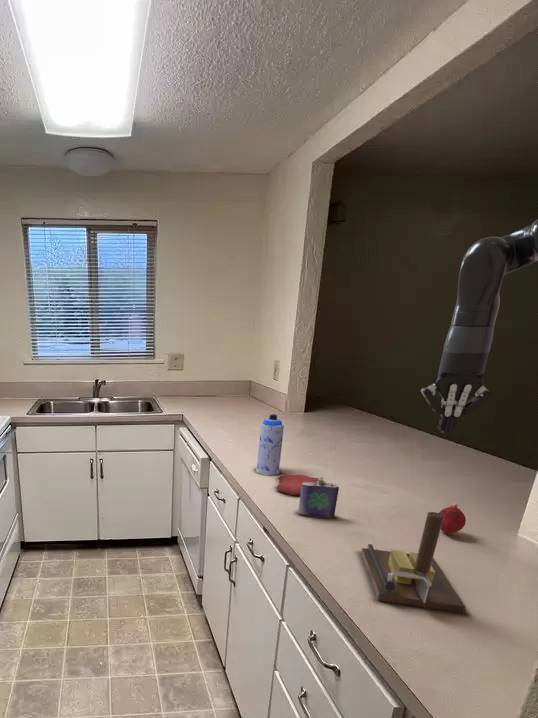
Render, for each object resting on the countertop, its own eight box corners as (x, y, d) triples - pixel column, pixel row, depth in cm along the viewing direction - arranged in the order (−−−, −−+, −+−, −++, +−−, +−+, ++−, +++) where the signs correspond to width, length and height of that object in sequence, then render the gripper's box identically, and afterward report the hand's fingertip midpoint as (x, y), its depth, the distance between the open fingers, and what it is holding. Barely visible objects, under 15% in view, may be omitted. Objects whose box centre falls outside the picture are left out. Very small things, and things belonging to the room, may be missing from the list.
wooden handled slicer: (422, 586, 83) (441, 512, 78) (431, 604, 78) (452, 526, 73) (378, 580, 86) (394, 508, 80) (385, 597, 80) (402, 521, 75)
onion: (463, 541, 103) (472, 510, 101) (435, 536, 106) (443, 506, 103) (458, 530, 108) (466, 501, 105) (431, 526, 111) (438, 497, 108)
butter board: (431, 562, 95) (436, 542, 93) (463, 613, 79) (470, 590, 77) (360, 553, 99) (364, 534, 97) (377, 600, 83) (382, 578, 81)
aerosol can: (280, 475, 147) (287, 417, 140) (257, 474, 148) (262, 417, 141) (277, 467, 154) (283, 412, 147) (255, 466, 155) (260, 412, 148)
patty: (279, 475, 147) (280, 470, 146) (323, 480, 142) (324, 475, 141) (274, 494, 132) (275, 488, 131) (324, 500, 127) (325, 494, 126)
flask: (298, 515, 118) (303, 478, 114) (297, 510, 120) (302, 474, 117) (334, 518, 116) (341, 481, 112) (333, 514, 118) (339, 477, 114)
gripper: (434, 350, 86) (415, 435, 92) (514, 351, 82) (489, 439, 88) (422, 348, 93) (406, 427, 99) (496, 348, 89) (474, 430, 95)
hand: (445, 432), depth 93 cm, fingers closed
